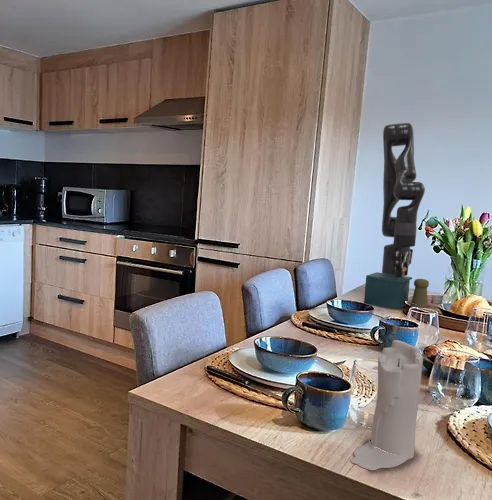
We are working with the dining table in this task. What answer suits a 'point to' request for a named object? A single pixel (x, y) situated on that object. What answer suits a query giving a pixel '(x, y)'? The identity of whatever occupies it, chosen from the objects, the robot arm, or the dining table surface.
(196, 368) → the dining table surface
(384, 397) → the candle
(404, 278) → the bin lid
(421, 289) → the cork
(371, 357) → the dining table surface
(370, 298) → the bin
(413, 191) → the robot arm
